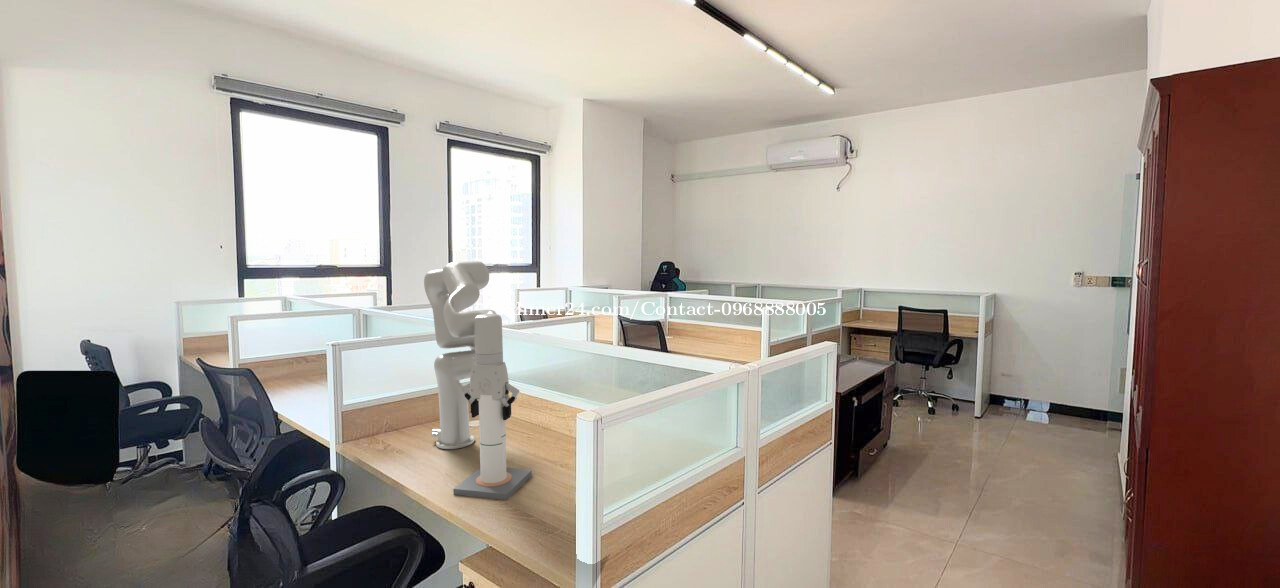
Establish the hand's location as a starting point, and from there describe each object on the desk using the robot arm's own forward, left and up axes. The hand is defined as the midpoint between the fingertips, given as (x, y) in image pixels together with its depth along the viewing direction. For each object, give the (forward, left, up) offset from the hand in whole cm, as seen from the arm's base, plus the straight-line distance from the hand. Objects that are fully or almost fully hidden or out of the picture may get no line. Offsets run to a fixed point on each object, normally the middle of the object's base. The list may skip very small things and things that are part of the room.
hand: (491, 417), depth 156 cm
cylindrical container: (0, 0, -18) cm, 18 cm away
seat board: (0, 0, -20) cm, 20 cm away
